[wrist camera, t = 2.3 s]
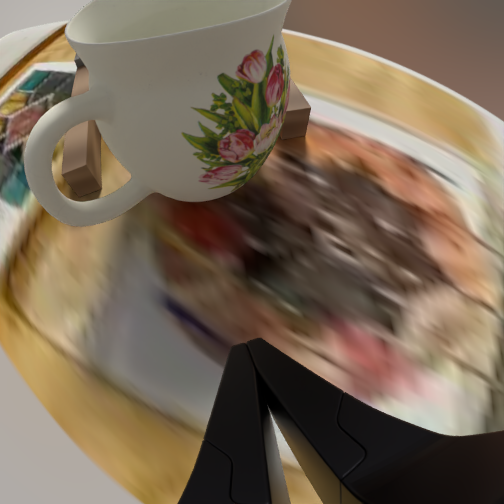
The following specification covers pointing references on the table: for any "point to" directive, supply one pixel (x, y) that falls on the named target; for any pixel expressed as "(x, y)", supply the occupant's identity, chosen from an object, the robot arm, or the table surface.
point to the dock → (89, 137)
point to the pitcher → (170, 99)
